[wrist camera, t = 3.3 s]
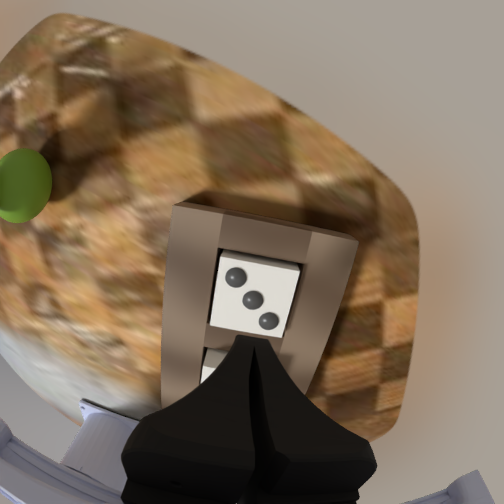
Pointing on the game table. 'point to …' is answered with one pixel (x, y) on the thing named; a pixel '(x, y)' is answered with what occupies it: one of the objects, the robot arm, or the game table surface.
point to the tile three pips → (253, 293)
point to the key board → (203, 281)
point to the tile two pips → (212, 361)
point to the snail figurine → (23, 185)
